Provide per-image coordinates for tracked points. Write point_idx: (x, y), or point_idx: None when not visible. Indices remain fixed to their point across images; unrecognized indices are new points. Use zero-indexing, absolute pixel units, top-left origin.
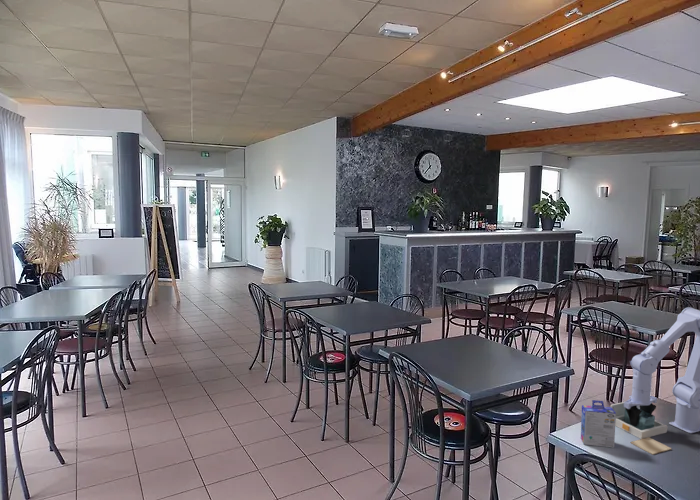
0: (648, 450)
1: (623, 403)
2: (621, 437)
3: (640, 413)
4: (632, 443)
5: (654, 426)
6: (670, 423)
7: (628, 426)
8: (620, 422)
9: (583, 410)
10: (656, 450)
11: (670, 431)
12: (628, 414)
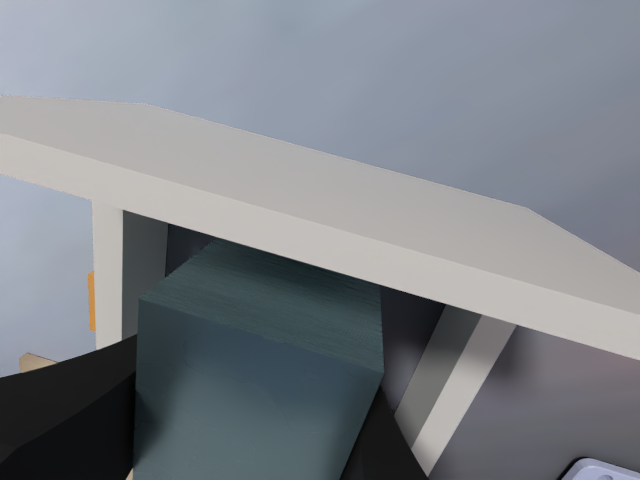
0: None
1: (240, 237)
2: (30, 291)
3: (208, 476)
4: (25, 366)
5: (403, 406)
6: (579, 476)
7: (95, 326)
8: (101, 246)
9: None
10: None
11: (435, 473)
12: (103, 353)
